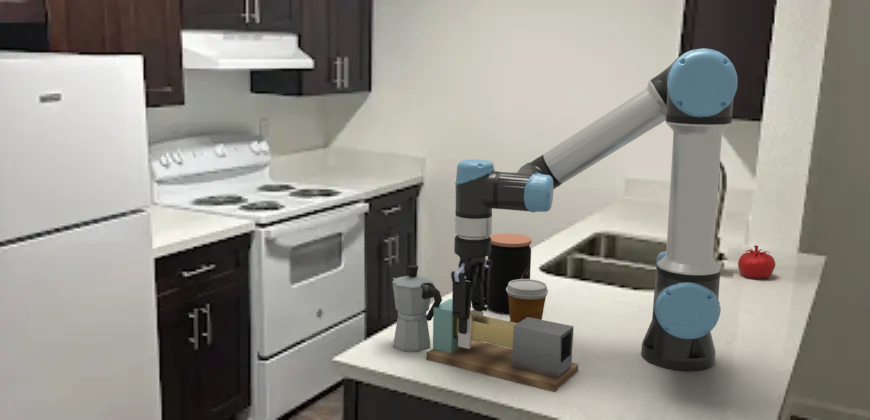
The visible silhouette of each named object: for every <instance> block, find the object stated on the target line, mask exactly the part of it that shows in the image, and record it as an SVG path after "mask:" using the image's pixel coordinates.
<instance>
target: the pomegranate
mask: <svg viewBox="0 0 870 420" xmlns="http://www.w3.org/2000/svg"><path fill="white" fill-rule="evenodd" d="M753 247H754V250H753V249H752V248H750V249H748V250H747V249H746V250H745V252H744V253H742V254H741V256H740V257H739V259H738V262H737V268H738V271H739V272H740V274H741V275H742V276H743V277H745V278H748V279H756V280H757V279H768V278H769V277H771V276H772V274H773V272H774V270H775V268H776V261H775V258H774V256H772V255H770V252H769V251H767V250H765V251H763V249H759V245H756V244H755V245H754V246H753Z"/></svg>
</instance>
